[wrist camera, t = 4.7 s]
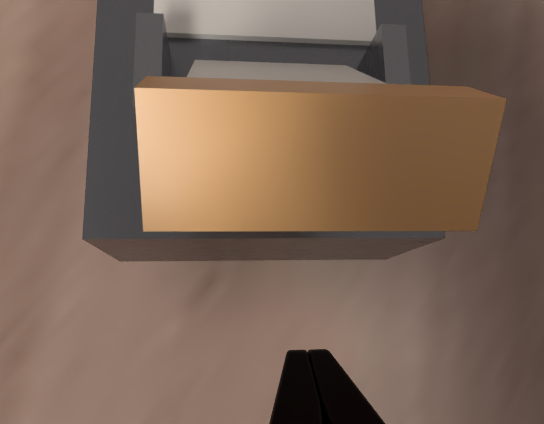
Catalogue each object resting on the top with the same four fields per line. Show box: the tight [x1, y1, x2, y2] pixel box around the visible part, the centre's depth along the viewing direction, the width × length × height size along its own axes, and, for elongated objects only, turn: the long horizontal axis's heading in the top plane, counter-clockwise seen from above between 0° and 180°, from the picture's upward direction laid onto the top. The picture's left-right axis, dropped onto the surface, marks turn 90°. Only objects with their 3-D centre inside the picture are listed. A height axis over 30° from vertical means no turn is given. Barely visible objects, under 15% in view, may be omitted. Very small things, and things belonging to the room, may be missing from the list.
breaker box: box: [82, 0, 445, 261], centre depth 19 cm, size 10×12×8 cm
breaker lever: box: [134, 60, 507, 232], centre depth 12 cm, size 2×6×9 cm
